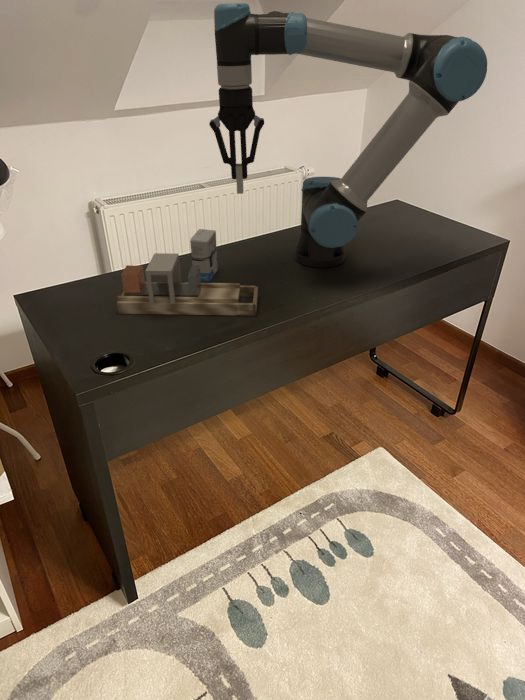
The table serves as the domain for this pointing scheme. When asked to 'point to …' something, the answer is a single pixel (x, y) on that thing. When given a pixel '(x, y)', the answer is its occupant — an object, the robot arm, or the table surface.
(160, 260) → the tunnel
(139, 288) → the sled
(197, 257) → the ink box
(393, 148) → the robot arm
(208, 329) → the table surface
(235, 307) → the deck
